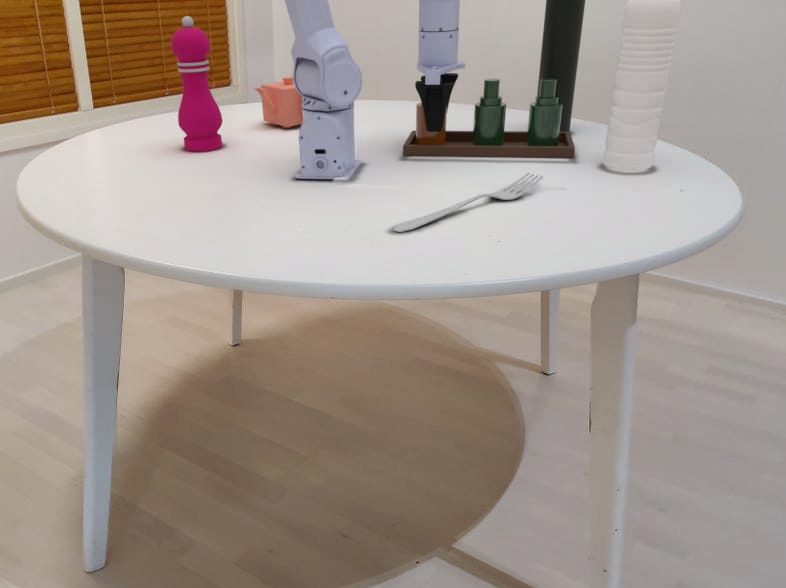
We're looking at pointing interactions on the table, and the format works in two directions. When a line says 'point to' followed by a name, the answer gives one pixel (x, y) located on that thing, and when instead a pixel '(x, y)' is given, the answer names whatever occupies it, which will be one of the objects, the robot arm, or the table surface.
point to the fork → (500, 194)
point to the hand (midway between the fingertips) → (435, 127)
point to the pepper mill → (196, 89)
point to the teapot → (281, 103)
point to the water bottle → (640, 83)
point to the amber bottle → (423, 135)
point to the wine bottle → (562, 51)
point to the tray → (490, 147)
